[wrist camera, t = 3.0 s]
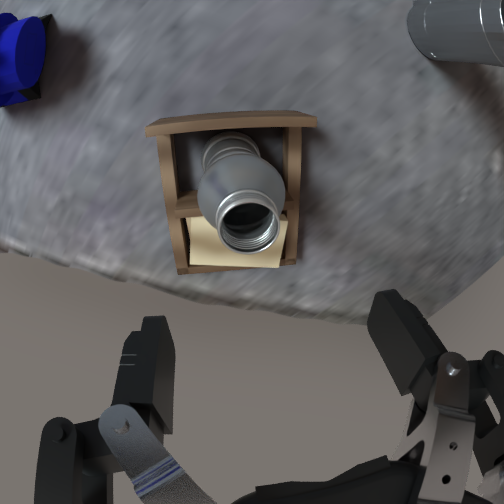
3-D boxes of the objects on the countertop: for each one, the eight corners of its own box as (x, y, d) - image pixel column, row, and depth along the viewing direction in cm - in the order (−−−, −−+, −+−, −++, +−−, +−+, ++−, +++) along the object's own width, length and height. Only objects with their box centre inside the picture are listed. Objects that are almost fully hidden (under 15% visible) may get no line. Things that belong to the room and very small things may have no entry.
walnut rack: (159, 118, 30) (144, 127, 24) (294, 110, 32) (316, 117, 25) (179, 262, 41) (174, 299, 34) (290, 252, 42) (305, 286, 36)
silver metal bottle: (202, 127, 32) (189, 174, 15) (259, 129, 33) (313, 178, 16) (201, 179, 35) (192, 275, 18) (255, 179, 36) (297, 273, 19)
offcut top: (192, 208, 33) (191, 215, 32) (284, 214, 35) (288, 221, 34) (190, 255, 37) (189, 264, 35) (275, 259, 38) (278, 267, 37)
